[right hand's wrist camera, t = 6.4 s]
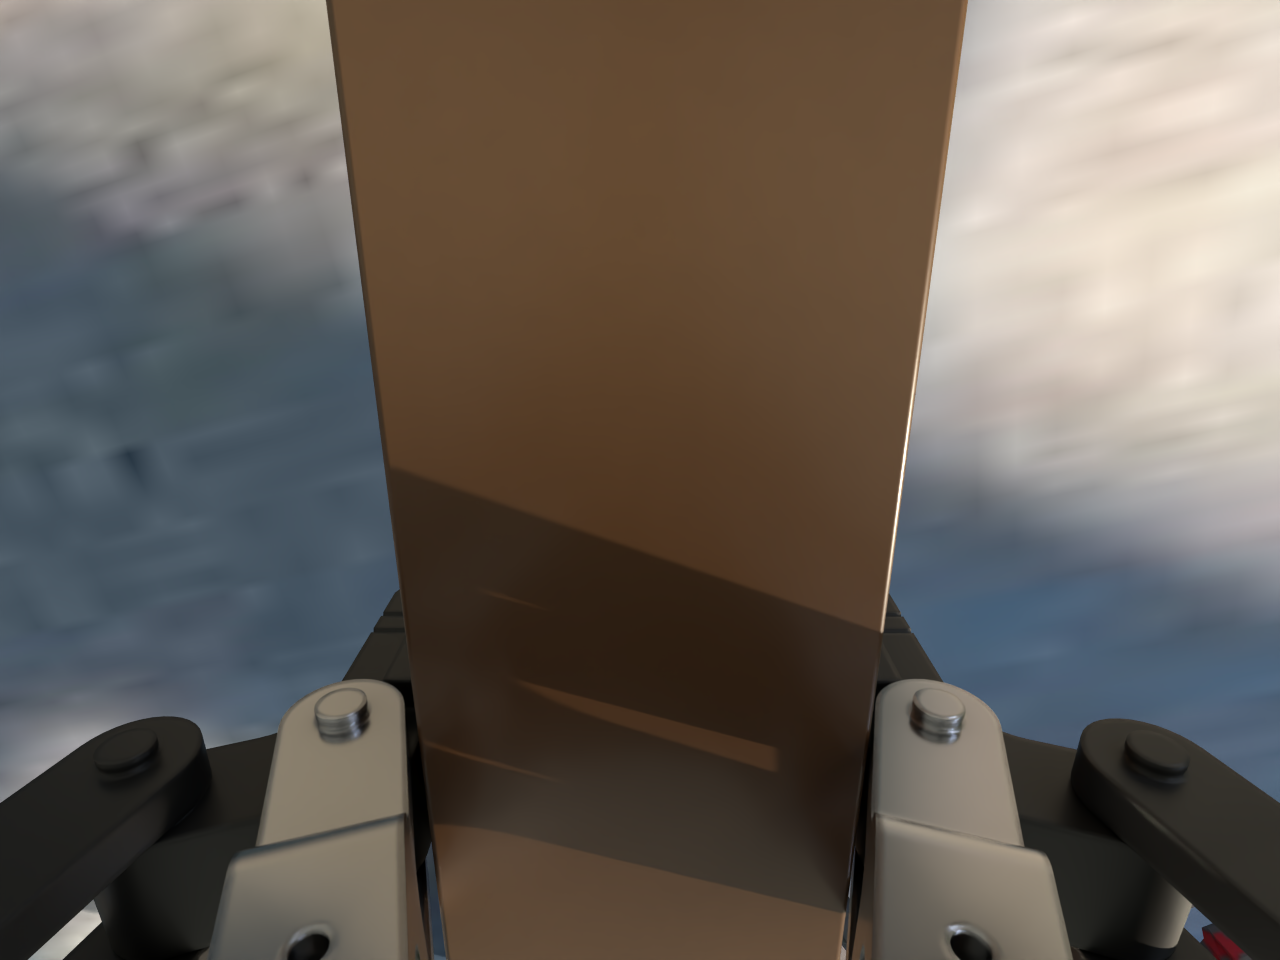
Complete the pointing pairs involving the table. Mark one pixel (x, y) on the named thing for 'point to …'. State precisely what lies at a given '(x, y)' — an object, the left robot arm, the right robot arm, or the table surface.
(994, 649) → the table surface
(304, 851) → the right robot arm
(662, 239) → the post
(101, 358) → the table surface
